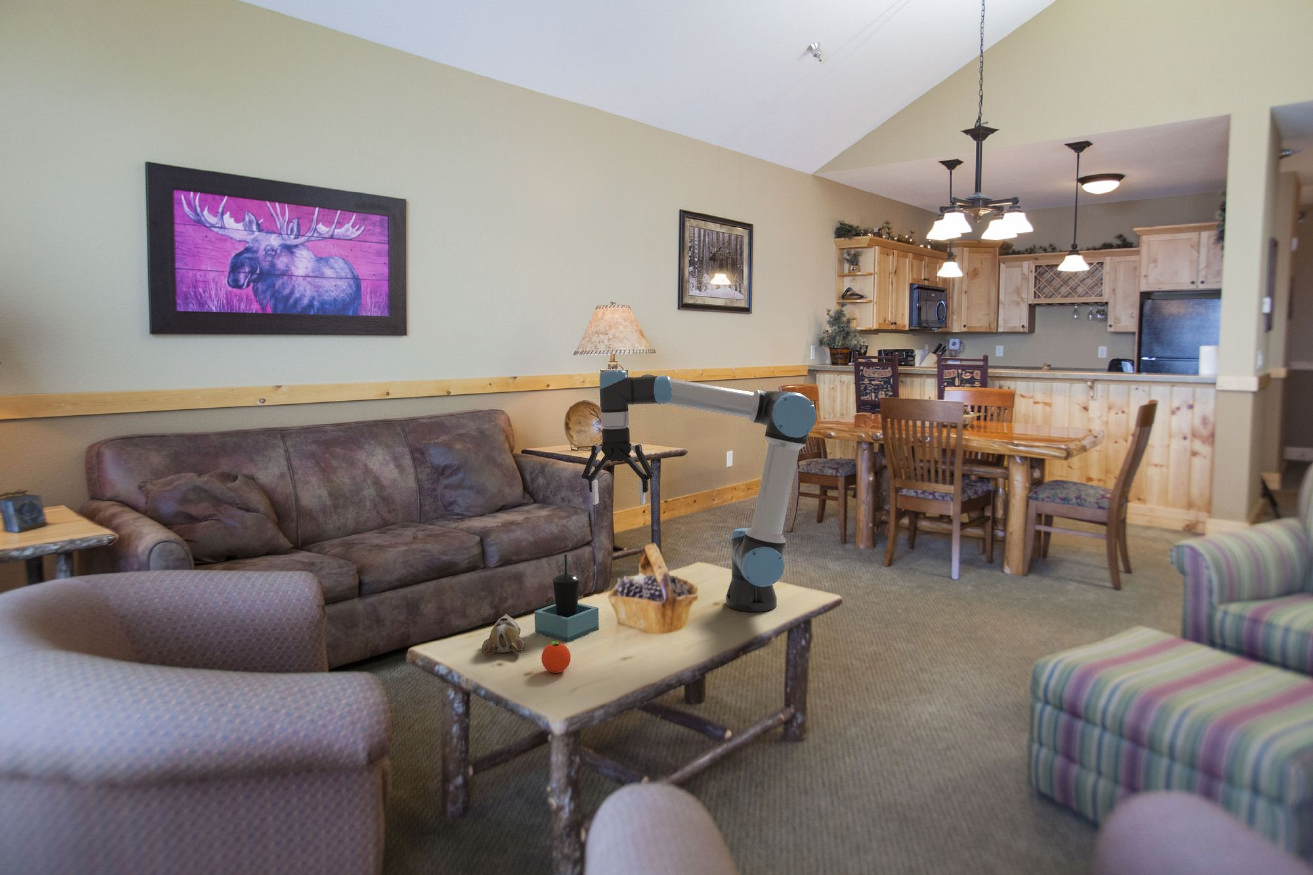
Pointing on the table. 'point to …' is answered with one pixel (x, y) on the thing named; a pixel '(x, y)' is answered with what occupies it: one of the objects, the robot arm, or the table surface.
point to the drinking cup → (566, 592)
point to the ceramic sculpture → (504, 637)
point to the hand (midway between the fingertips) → (619, 504)
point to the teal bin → (566, 622)
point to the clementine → (556, 657)
